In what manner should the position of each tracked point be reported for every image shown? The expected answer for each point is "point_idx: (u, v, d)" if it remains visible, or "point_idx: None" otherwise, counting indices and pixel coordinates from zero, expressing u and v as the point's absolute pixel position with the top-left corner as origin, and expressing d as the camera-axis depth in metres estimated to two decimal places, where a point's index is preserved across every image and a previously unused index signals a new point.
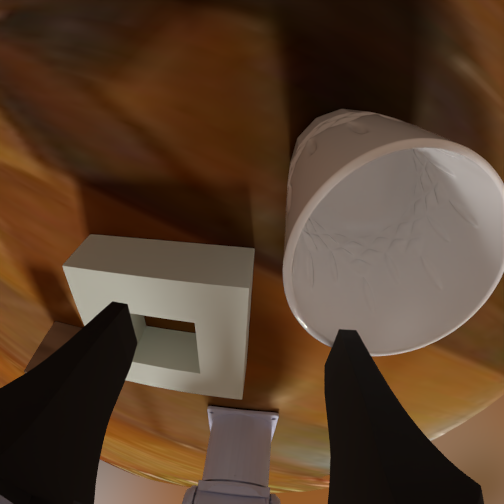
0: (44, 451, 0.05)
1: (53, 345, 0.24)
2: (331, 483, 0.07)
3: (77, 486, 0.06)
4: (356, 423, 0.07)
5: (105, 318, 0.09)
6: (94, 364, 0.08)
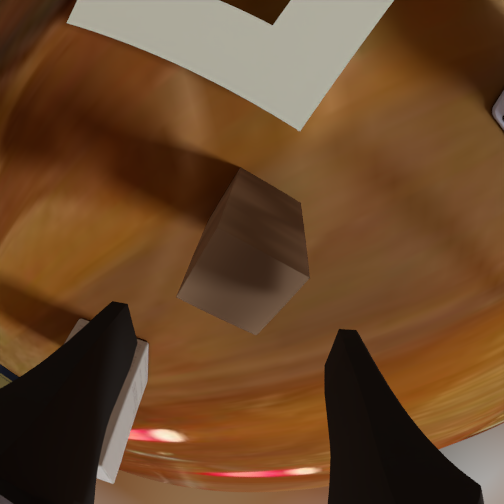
0: (44, 451, 0.05)
1: (209, 225, 0.16)
2: (331, 483, 0.07)
3: (77, 486, 0.06)
4: (356, 423, 0.07)
5: (105, 318, 0.09)
6: (94, 364, 0.08)
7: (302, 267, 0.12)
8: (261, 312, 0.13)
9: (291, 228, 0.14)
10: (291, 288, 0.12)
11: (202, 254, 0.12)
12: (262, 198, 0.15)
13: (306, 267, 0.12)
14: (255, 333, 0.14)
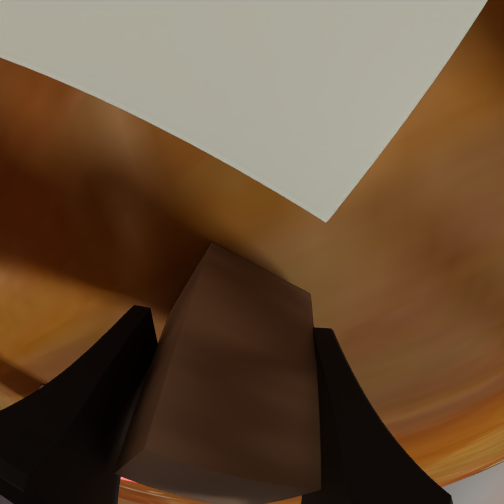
0: (73, 464, 0.05)
1: (160, 350, 0.09)
2: None
3: (102, 496, 0.06)
4: (325, 423, 0.07)
5: (129, 323, 0.09)
6: (119, 371, 0.08)
7: (309, 473, 0.06)
8: (241, 501, 0.07)
9: (295, 375, 0.08)
10: (290, 494, 0.06)
11: (132, 460, 0.05)
12: (246, 313, 0.09)
13: (317, 466, 0.06)
14: None
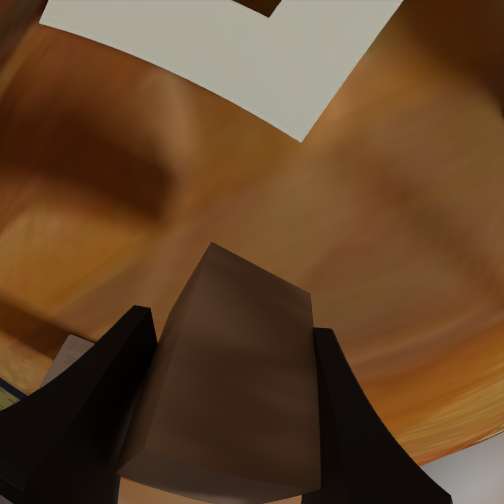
0: (73, 464, 0.05)
1: (160, 350, 0.09)
2: None
3: (102, 496, 0.06)
4: (325, 423, 0.07)
5: (129, 323, 0.09)
6: (119, 371, 0.08)
7: (309, 472, 0.06)
8: (241, 501, 0.07)
9: (295, 375, 0.08)
10: (289, 494, 0.06)
11: (132, 459, 0.05)
12: (246, 313, 0.09)
13: (317, 465, 0.06)
14: None
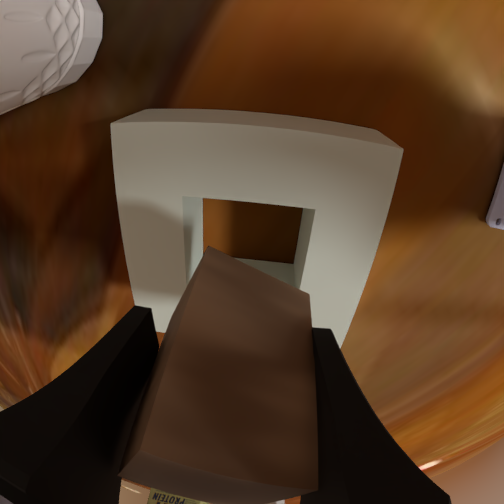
0: (74, 465, 0.05)
1: (161, 354, 0.09)
2: None
3: (103, 496, 0.06)
4: (323, 423, 0.07)
5: (130, 323, 0.09)
6: (120, 371, 0.08)
7: (306, 474, 0.06)
8: (242, 502, 0.07)
9: (293, 377, 0.08)
10: (288, 495, 0.06)
11: (131, 461, 0.05)
12: (243, 316, 0.09)
13: (314, 466, 0.06)
14: None
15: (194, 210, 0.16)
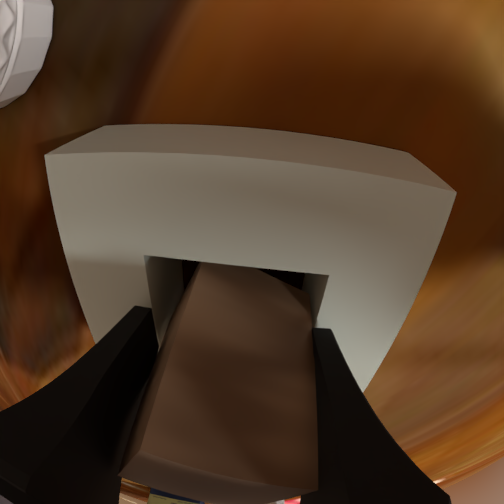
0: (74, 464, 0.05)
1: (161, 354, 0.09)
2: None
3: (103, 496, 0.06)
4: (323, 423, 0.07)
5: (130, 323, 0.09)
6: (120, 371, 0.08)
7: (306, 474, 0.06)
8: (242, 502, 0.07)
9: (293, 376, 0.08)
10: (288, 494, 0.06)
11: (131, 461, 0.05)
12: (243, 315, 0.09)
13: (314, 466, 0.06)
14: None
15: (167, 261, 0.12)
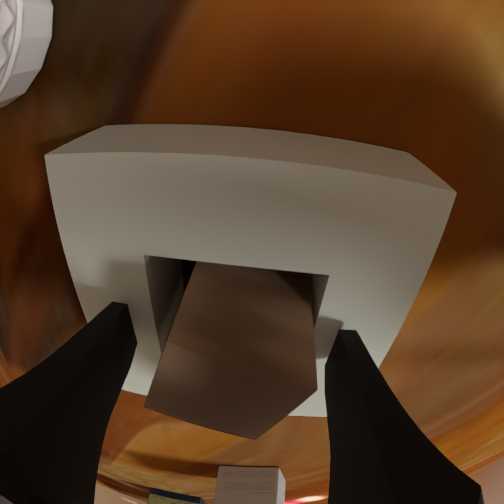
0: (44, 451, 0.05)
1: (182, 298, 0.11)
2: (331, 483, 0.07)
3: (77, 486, 0.06)
4: (356, 423, 0.07)
5: (105, 318, 0.09)
6: (94, 364, 0.08)
7: (306, 375, 0.08)
8: (255, 422, 0.09)
9: (291, 302, 0.10)
10: (293, 401, 0.08)
11: (158, 370, 0.08)
12: None
13: (313, 370, 0.08)
14: (253, 438, 0.09)
15: (167, 261, 0.12)
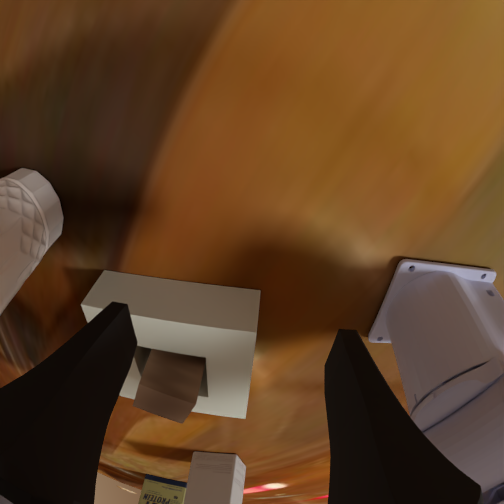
0: (44, 451, 0.05)
1: None
2: (331, 483, 0.07)
3: (77, 486, 0.06)
4: (356, 423, 0.07)
5: (105, 318, 0.09)
6: (94, 364, 0.08)
7: (192, 398, 0.19)
8: (178, 415, 0.20)
9: (194, 364, 0.21)
10: (188, 407, 0.19)
11: (137, 392, 0.19)
12: None
13: (196, 396, 0.19)
14: (181, 422, 0.21)
15: None
